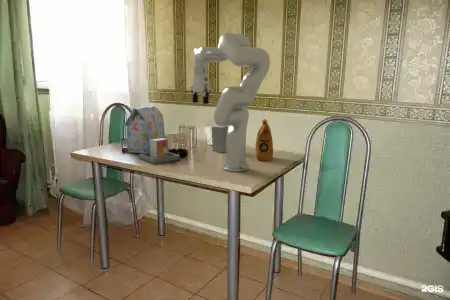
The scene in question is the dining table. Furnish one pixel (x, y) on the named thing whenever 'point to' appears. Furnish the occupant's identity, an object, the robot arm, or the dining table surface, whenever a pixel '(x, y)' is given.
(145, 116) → the lunch bag
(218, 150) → the skincare box
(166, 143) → the small box
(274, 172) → the dining table surface
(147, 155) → the tray
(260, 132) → the coffee package
